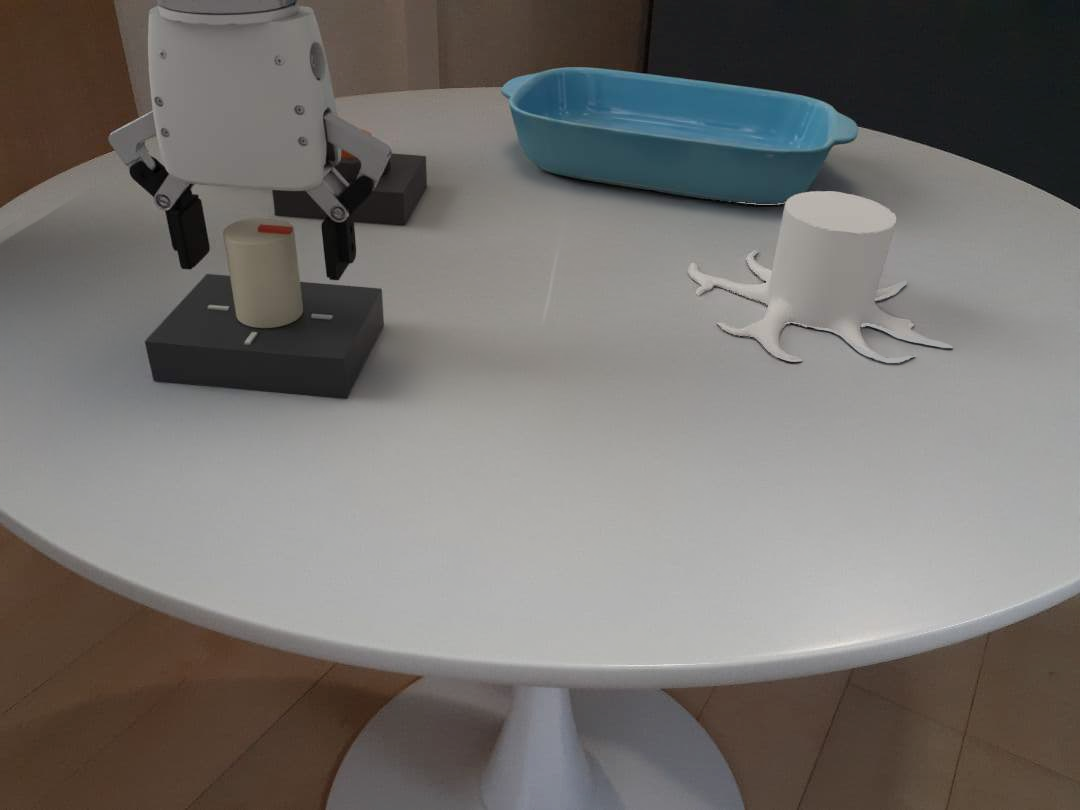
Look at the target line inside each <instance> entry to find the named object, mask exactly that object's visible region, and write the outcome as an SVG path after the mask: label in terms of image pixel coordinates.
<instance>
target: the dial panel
mask: <svg viewBox="0 0 1080 810" xmlns="http://www.w3.org/2000/svg"><path fill="white" fill-rule="evenodd" d="M300 285H301V294H302V303H303V313H302V315H301V316H300V317H299V318H298V319H297V320H296V321H294V322H292V323H290V324H287V325H284V326H280V327H274V328H255V327H250V326H247V325H245V324H243V323H241V322H240V321H239V320H238V319H237V316H236V310H235V304H234V298H233V292H232V286H231V279H230V275H227V274H226V275H225V274H213V273H206V274H205V275H204V276H203V277H202V278H201V280H200V281H199V282H197V284H196V285H195V286H194V287H193V288H192V289H191V290H190V292H189V293H187V295H185V297H184V298H183V299H182V300H181V301H180V302H179V303H178V304H177V305H176V307H175V308H174V309H173V310H172V311H171V312H170V313H169V314H168V315H167V316H166V317H165V318H164V320H162V322H161V323H160V324H159V325H158V326H157V327H156V328H155V330H153V332H152V333H151V334H150V335H149V336H148V337H147V338H146V339H145V340H144V344H145V349H146V353H147V359H148V362H149V367H150V371H151V375H152V380H153V381H155V382H165V383H175V384H176V383H177V384H185V385H186V384H188V385H197V384H198V386H206V387H207V386H208V385H209V387H217V388H218V387H219V388H229V389H230V388H232V389H239V390H240V389H241V390H252V391H262V392H272V393H286V394H294V395H295V394H296V395H304V396H305V395H307V396H317V397H328V398H329V397H330V398H339V399H348V397H349V395H350V393H351V392H352V390H353V387H354V385H355V383H356V381H357V379H358V378H359V375H360V373H361V371H362V369H363V367H364V366H365V363H366V361H367V359H368V357H369V356H370V353H371V352H372V350H373V347H374V345H375V344H376V341H377V340H378V337H379V336H380V334H381V331H382V329H383V328H384V325H385V321H384V320H385V319H384V302H383V289H382V288H380V287H369V286H355V285H343V284H333V283H321V282H320V283H319V282H308V281H300Z"/></svg>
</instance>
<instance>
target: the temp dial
mask: <svg viewBox="0 0 1080 810" xmlns="http://www.w3.org/2000/svg"><path fill="white" fill-rule="evenodd" d="M293 225H294V224H292V223H291V222H290V221H288V220H285V219H282V218H279V217H278V218H277V217H271V216H257V217H256V216H255V217H249V218H244V219H239V220H236V221H234V222H232V223H230V224H228V225H227V226H226V227H225V228H224V229H223V232H222V236H223V241H224V247H225V254H226V259H227V260H226V261H227V266H228V273H229V276H230V279H231V286H232V292H233V298H234V304H235V310H236V316H237V319H238V320H239V321H240V322H241V323H243V324H245V325H247V326H250V327H255V328H274V327H280V326H284V325H287V324H290V323H292V322H294V321H296V320H297V319H298V318H299V317H300V316H301V315H302V313H303V303H302V294H301V285H300V282H301V277H300V270H299V269H300V268H299V261H298V259H299V258H298V252H297V243H296V234H295V233H296V232H295V227H294V226H293Z"/></svg>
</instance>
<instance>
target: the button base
mask: <svg viewBox="0 0 1080 810" xmlns="http://www.w3.org/2000/svg"><path fill="white" fill-rule="evenodd" d="M334 168H335V169H336V170H337V171H338V172H339V173H340V174H341V176H342V177H343V178H344V179H345V180H346V181H347V182H348V183H349V184H351V183H352V182H353V181H354V180H355V179H356V178H357V176H358V174H359V171H360V169H361V162H360V160H359V159H358V158H341V160H340V162H339V164H338V165H336V166H335V167H334ZM427 179H428V175H427V156H426V155H418V154H417V155H416V154H406V153H405V154H404V153H394V152H393V153H391V156H390V159H389V161H388V163H387V165H386V167H385V169H384V171H383V173H382V175H381V177H380V179H379V181H378V184H377V186H376V187H375V189H374V190H373V191H372V193H371V194H370V196H369V197H368V198H367V199H366V200H365V201H364V202H363V203H361V204H360V205H359V206H358V207H357V208H356V209H355V210H354V211H353V217H354V223H360V224H373V225H374V224H375V225H384V226H385V225H386V226H396V227H397V226H399V227H405V226H406V225H407V223H408V221H409V220H410V217H411V216H412V214H413V212H414V210H415V209H416V207H417V206H418V204H419V202H420V200H421V198H422V196H423V194H424V193H425V192H426V190H427V188H428V181H427ZM271 192H272V201H273V208H274V216H275V217H285V218H299V219H312V220H323V221H324V219H325V218H326V217H327V214H326V213H325V212H324V211H323V209H322V208H321V207H320V206H319V205H318V204H317V203H316V202H315V201H314V200H313V199H312V198H311V196H310V195H309V194H308V193H307V192H306V191H283V190H271Z"/></svg>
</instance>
